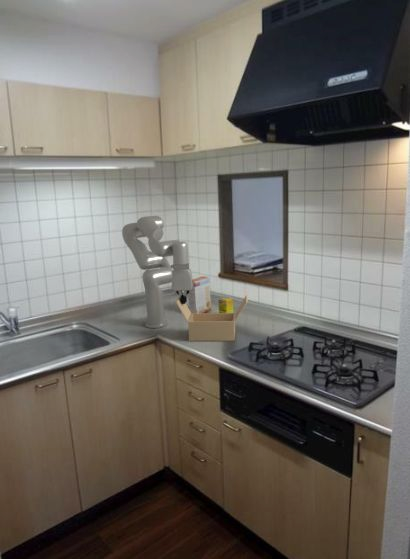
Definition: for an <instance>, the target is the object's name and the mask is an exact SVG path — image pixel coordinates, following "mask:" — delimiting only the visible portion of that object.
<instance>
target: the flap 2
mask: <svg viewBox="0 0 410 559" xmlns="http://www.w3.org/2000/svg"><path fill="white" fill-rule="evenodd" d="M247 304H248V294H246V295H245V297H244V298H243V300H242V301H241V302H240V305H239V306H238V308H237V309H236V311H235V312H234V313H235V320H234V321H235V322H237V319H238V318H239V317H240V315H241V313H242V312H243V310H244V308H245V307H246V305H247Z"/></svg>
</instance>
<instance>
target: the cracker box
mask: <svg viewBox="0 0 410 559" xmlns="http://www.w3.org/2000/svg"><path fill="white" fill-rule="evenodd" d="M192 280H193V289H194V291H193V292H190V293H188V294H187V295H188V308H189V310H190V311H191V315H192V313H205V312H206V313H208V312H210V310H211V311H212V302H211V301H212V300H211V284H210V283H211V282H210V277H209V276H200V277H196V278H192ZM207 311H208V312H207ZM191 315H190V316H191Z"/></svg>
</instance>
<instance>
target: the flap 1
mask: <svg viewBox="0 0 410 559" xmlns="http://www.w3.org/2000/svg"><path fill="white" fill-rule="evenodd" d="M178 296H179V295H178ZM175 304H176V305H177V307H178V309H179V310H180V313H181V314H182V316H183V317H184V319H185V321H186V322H189V319H190V317H191V311H190V310H189V305H188V304H187V302H186V303H185V304H182V302H180V296H179V297H178V298H177V299H176V301H175Z"/></svg>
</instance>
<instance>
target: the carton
mask: <svg viewBox="0 0 410 559" xmlns="http://www.w3.org/2000/svg"><path fill="white" fill-rule="evenodd" d="M234 320H235V312H233V313H219V312H218V313H217V312H212V313H211V312H206V313H192V315H190V317H189V320H188V321H187V322H188V323H187V325H188V342H191V343H193V342H195V343H196V342H197V343H198V342H235V340H236V338H235V337H236V321H234Z"/></svg>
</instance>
